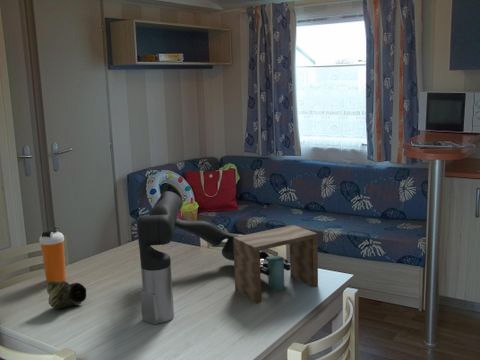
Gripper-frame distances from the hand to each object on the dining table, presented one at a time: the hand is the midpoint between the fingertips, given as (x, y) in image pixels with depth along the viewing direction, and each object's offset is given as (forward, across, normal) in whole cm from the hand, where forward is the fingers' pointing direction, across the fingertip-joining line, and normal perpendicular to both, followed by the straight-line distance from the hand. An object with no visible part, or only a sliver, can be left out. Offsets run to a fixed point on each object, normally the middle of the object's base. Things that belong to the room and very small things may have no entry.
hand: (279, 270), depth 186 cm
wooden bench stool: (-2, 0, +7) cm, 7 cm away
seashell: (-29, -67, +8) cm, 73 cm away
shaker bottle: (-58, -65, +7) cm, 87 cm away
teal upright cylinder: (-2, 0, +7) cm, 7 cm away
